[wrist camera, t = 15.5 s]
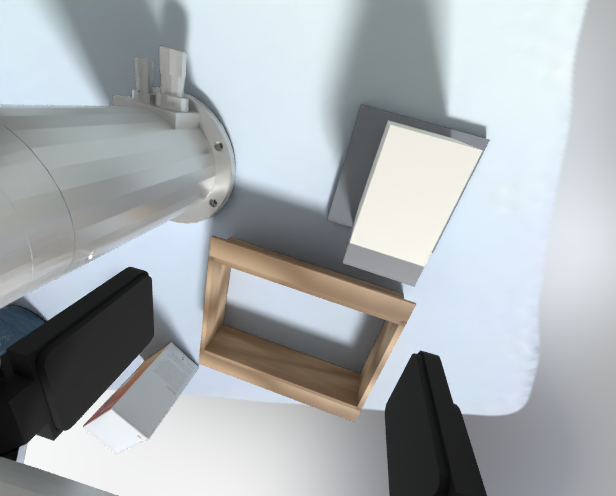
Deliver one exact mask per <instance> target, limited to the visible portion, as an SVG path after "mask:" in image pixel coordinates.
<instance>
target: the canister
mask: <svg viewBox="0 0 616 496" xmlns="http://www.w3.org/2000/svg"><path fill="white" fill-rule="evenodd" d="M44 323H45V322H44V321H43V320H42V319H41V318H39V317H38V316H37V315H35V314H34V313H32V312H30V311H28V310H26V309H24V308H21V307H18V306H13V305H6V306H4V307H3V308H1V309H0V356H2V355H3V354H5V353H6V352H7V351H6V349H7V348H8V347H10V346H11V345H13V344H14V343H16V342H17V341H19V340H20V339H22V338H23V337H25V336H26V335H28V334H29V333H30V332H32V331H33V330H35V329H36V328H38V327H39V326H41V325H42V324H44Z"/></svg>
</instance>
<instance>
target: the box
mask: <svg viewBox="0 0 616 496" xmlns="http://www.w3.org/2000/svg"><path fill="white" fill-rule="evenodd" d="M482 151H483V150H480V149H478V148H475V147H473V146H470V145H468V144H465V143H463V142H460V141H458V140H455V139H453V138H450V137H447V136H443V135H439V134H436V133H432V132H428V131H425V130H421V129H418V128H414V127H410V126H407V125H403V124H400V123H396V122H392V121H389V120H388V121H387V124H386V127H385V130H384V133H383V136H382V139H381V142H380V145H379V148H378V151H377V154H376V156H375V159H374V162H373V165H372V168H371V171H370V174H369V177H368V180H367V183H366V186H365V189H364V192H363V195H362V198H361V201H360V203H359V206H358V209H357V212H356V215H355V218H354V221H353V224H352V228H351V232H350V236H349V240H348V244H347V248H346V252H345V255H344V259H343V263H344V264H347V265H350V266H353V267H356V268H359V269H362V270H365V271H368V272H371V273H374V274H377V275H380V276H383V277H387V278H390V279H393V280H396V281H399V282H402V283H405V284H408V285H411V286H415V284H416V282H417V280H418V278H419V276H420V274H421V272H422V270H423V268H424V266H425V264H426V262H427V260H428V258H429V256H430V254H431V252H432V250H433V248H434V246H435V244H436V243H437V241H438V239H439V237H440V235H441V233H442V231H443V229H444V227H445V225H446V223H447V221H448V219H449V217H450V215H451V213H452V211H453V209H454V207H455V205H456V203H457V201H458V199H459V197H460V195H461V193H462V191H463V189H464V187H465V185H466V183H467V181H468V179H469V177H470V175H471V173H472V171H473V169H474V167H475V165H476V163H477V161H478V159H479V157H480V155H481V153H482Z"/></svg>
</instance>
